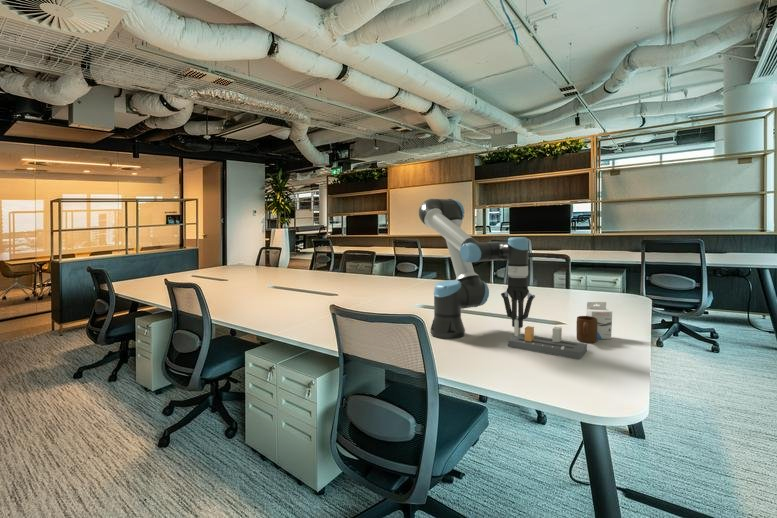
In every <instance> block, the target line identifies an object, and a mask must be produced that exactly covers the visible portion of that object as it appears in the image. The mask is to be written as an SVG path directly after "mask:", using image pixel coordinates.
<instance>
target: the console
mask: <svg viewBox="0 0 777 518" xmlns="http://www.w3.org/2000/svg"><path fill="white" fill-rule="evenodd" d="M507 347H509V348H514V349H519V350H526V351H531V352H536V353H541V354H548V355H553V356H559V357H563V358H569V359H575V360H581V358H583V356H584V355H585V354H586V353H587V351H588V343H585V342H578V341H577V342H576V341H571V340H570V341H569V340H564V339H561V341H560V342H553V341H552V337H551V338H550V337H546V336H545V337H543V336H538V335H534V340H532V341H531V342H530V341H525V333H520V335H519V336H512V337H511V338H509V339H507Z"/></svg>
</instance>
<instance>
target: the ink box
mask: <svg viewBox="0 0 777 518" xmlns="http://www.w3.org/2000/svg"><path fill="white" fill-rule="evenodd" d="M585 312H586V314H585V316H591V317H595V318H597V324H598V325H597V340H599V339H600V340H612V326H613V310H610V309H607V302H606V301H587V303H586V311H585Z"/></svg>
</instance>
